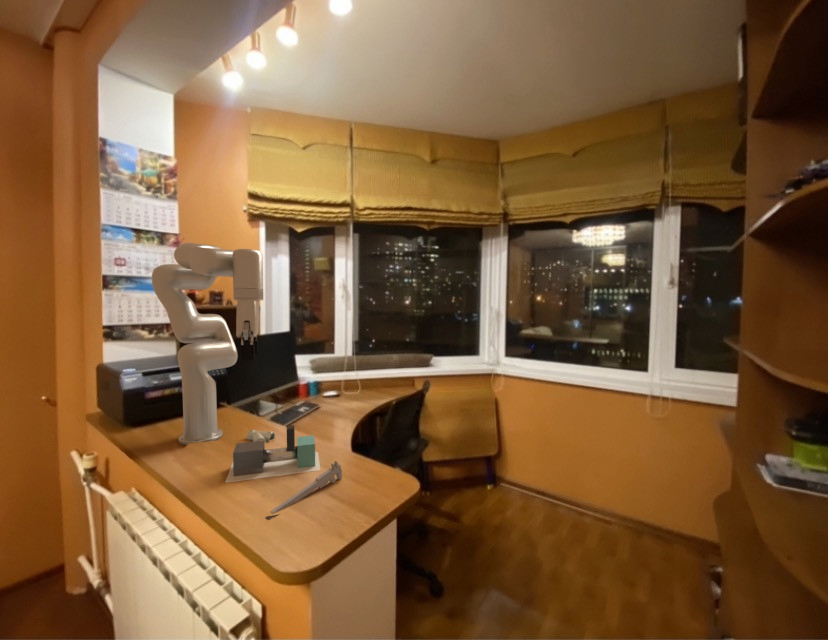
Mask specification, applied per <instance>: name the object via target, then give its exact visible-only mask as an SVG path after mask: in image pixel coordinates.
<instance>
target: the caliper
mask: <svg viewBox="0 0 828 640" xmlns="http://www.w3.org/2000/svg"><path fill="white" fill-rule="evenodd" d="M333 462H334V463H330V466H331V467H330V468H328V469H327V470H326V471H324V472H323V473H322V474H320V475H319V476H317V477H315V480H314V481H312V482H311V483H309V484H308V485H306V486H305V487H304V488H302V489H301V490H300V491H298V492H296V493H295V494H293V496H292V495H291V496H290V497H289V498H288V499H285V501H284V502H283V501H282V503H281V504H279V505H278V506H276V507H274V508H273V509H272V510H271V511H270V513H271V514H273V515H267V516H266V517H265V520H266V521H270V520H271V519H274V518H276V517H278V516H281V514H280V513H279V514H275V513H277V512H279V511H281V510H283V509H286V508H287V507H290V506H291V505H293V504H295V503H297V502H299V501H301V500H303V499H304V498H305V497H307V496H308V495H310V494H311V493H312V492H314V491H315V490H316V489H319V490H320V489H322V488H323V487H325V486H326V485H328V483H329V482H330V483H331V484H335V483H337V481H336V479H337V480H338V481H340V480H342V479H343V470H342V466H341V464H340V463H338V461H336V460H334V461H333ZM335 476H336V477H335Z"/></svg>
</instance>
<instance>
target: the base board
mask: <svg viewBox="0 0 828 640" xmlns="http://www.w3.org/2000/svg"><path fill="white" fill-rule="evenodd" d="M318 471H321V464H320V456H319V452H318V451H315V466H312V467H304V468H298V459H294V460H286V461H278V462H270V463H265V464H264V470H263V473H257V474H249V475H242V476H234V473H233V462H232V463H231V466H230V469H229V471H228V474H227V477H226V479H225V483H234V482H243V481H250V480H257V479H258V480H259V479H265V478H273V477H281V476H288V475H295V474H302V473H303V474H304V473H311V472H318Z"/></svg>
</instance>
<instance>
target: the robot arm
mask: <svg viewBox="0 0 828 640" xmlns="http://www.w3.org/2000/svg"><path fill="white" fill-rule="evenodd" d="M263 257H264V256H263V253H262V252H261V251H260V250H257V249H253V248H250V249H249V248H238V249H233V250H232V249H223V248H221V247H220V246H217V245H214V244H213V245H212V244H204V243H195V242H185V243H182V244H179V245H178V246H177V247H176V248H175V249H174V252H173V259H174V260H175V262H176V263H177V264H175V263H174V264H173V263H170V264H169V263H168V264H161V265H158V266H156V267H154V269H153V271H152V273H151V283H152V289H153V291H154V293H155V295H156V298H158V301H159V302H160V303H161V305H162V306H163V308H164V309H165V311H166V314H167V316H168V319H169V323H170V327H171V329H172V331H173V334H174V336H175V339H177V341H179V343H182V344H185V345H183V346H182V347H180V349H179V350H178V352H177V363H178V366H179V372H180V376H181V378H180V379H181V386H182V387H181V389H182V391H181V393H182V414H183V415H182V417H183V433H182V434H180V436H179V437H178V443H180V444H181V445H186V446H188V444H195V443H197V444H198V443H204V442H214V441H217V440H219V439H220V438H221V437H223V433H224V432H223V430H222V429H221V428H218V414H217V413H218V411H217V410H218V409H217V408H218V407H217V385H216V384H217V383H216V381H215V379H214V378H213V377H212V376H211V375H210V374H209V373H208V372H210V371H214V370H220V369H227V368H230V367H232V366H234V365H236V363H237V361H238V357H239V355H238V349H237V347H236V344H235V341H234V338H233V336H232V333H231V331H230V328H229V326H228V324H227V321H226V319H225V318H223V316H221V315H219V314H215V313H199V311H198V309H197V307H196V304H195V302H194V301H193V299H191V298H190V297H189V296H188V295H186V294H185V293H183V292H182V291H181V290H183V291H184V290H185V291H186V290H187V291H191V290H192V291H193V290H194V291H195V290H197V291H204V290H208V289H209V288H211V287H212V286H213V284H214V283H215V281H216V280H217V278H219V277H229V278H232V290H233V291H232V293H233V298H232V299H233V301H237V302H236V316H235V317H236V321H235V322H236V323H235V325H236V326H235V327H236V331H235V335H236V337H237V338H240V339H241V342H240V359H241V361H254V360H255V355H257V354H259V341H258V334H259V332H260V301H264V267H263V266H264V261H263V259H264V258H263Z"/></svg>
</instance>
